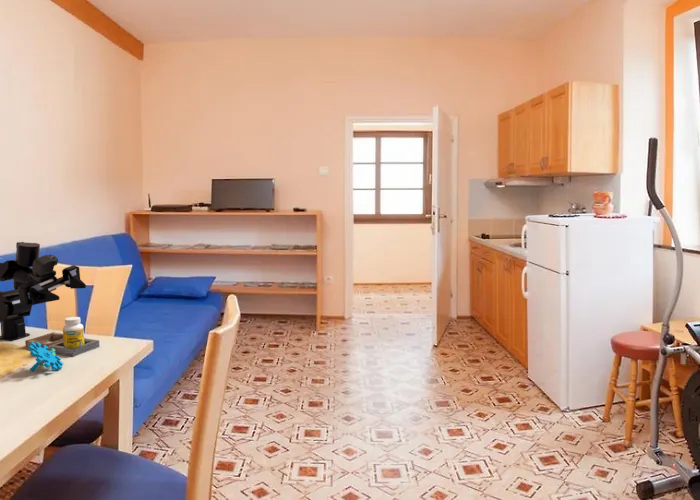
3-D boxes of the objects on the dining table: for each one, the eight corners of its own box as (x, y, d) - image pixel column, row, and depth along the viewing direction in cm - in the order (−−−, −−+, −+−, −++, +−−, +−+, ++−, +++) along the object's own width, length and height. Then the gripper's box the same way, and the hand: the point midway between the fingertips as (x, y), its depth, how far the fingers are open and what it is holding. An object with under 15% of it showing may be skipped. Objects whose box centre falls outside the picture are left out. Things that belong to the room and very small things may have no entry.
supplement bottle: (83, 345, 150) (81, 315, 149) (86, 350, 146) (84, 319, 145) (62, 348, 147) (61, 317, 146) (65, 354, 143) (63, 321, 141)
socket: (48, 352, 143) (47, 345, 143) (75, 343, 152) (75, 336, 152) (73, 356, 141) (72, 349, 140) (99, 346, 149) (99, 340, 149)
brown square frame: (25, 347, 147) (25, 340, 147) (53, 338, 156) (53, 332, 156) (49, 351, 145) (49, 344, 144) (76, 341, 153) (76, 335, 153)
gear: (56, 370, 126) (25, 343, 125) (38, 387, 125) (7, 361, 124) (71, 361, 137) (43, 336, 135) (55, 377, 136) (26, 352, 135)
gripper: (-1, 264, 140) (41, 278, 135) (57, 245, 156) (96, 257, 152) (5, 299, 144) (45, 314, 139) (61, 276, 160) (98, 289, 156)
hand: (72, 292), depth 146 cm, fingers open, 9 cm apart
